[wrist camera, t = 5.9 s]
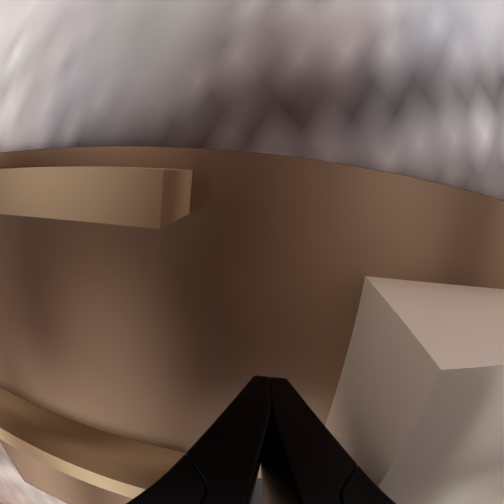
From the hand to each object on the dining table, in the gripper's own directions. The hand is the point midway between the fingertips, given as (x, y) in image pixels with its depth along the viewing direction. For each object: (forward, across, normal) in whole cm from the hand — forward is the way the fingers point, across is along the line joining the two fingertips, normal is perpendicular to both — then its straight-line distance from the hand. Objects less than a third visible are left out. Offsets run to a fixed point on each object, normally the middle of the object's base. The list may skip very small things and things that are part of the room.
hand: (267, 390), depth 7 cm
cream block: (+1, -5, 0) cm, 5 cm away
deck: (+3, +1, +4) cm, 5 cm away
